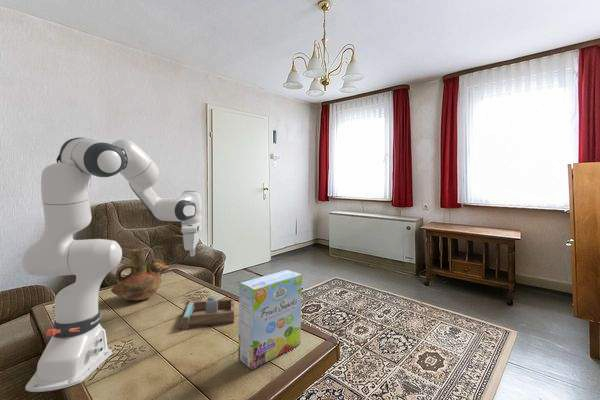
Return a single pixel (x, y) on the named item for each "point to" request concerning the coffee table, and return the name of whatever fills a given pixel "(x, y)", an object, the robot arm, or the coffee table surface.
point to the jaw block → (212, 304)
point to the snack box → (269, 317)
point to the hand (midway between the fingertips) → (192, 255)
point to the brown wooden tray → (208, 314)
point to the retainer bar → (189, 310)
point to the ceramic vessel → (139, 277)
